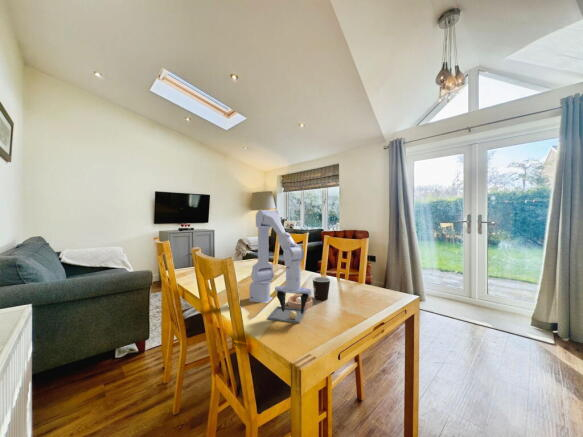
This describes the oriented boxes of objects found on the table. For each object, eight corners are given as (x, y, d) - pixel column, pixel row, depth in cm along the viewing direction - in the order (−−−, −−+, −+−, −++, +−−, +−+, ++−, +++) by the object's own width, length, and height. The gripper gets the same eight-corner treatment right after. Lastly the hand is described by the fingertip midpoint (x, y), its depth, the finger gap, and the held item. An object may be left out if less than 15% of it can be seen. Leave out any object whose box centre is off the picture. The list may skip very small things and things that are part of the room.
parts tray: (267, 320, 92) (267, 317, 92) (277, 308, 103) (277, 306, 103) (299, 325, 88) (299, 322, 88) (305, 312, 100) (306, 309, 100)
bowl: (285, 308, 103) (285, 302, 103) (291, 300, 114) (291, 293, 114) (309, 311, 100) (309, 304, 100) (314, 302, 111) (314, 296, 111)
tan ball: (287, 320, 91) (287, 312, 91) (289, 316, 94) (290, 308, 94) (295, 321, 90) (295, 313, 90) (297, 317, 93) (297, 309, 93)
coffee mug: (329, 303, 110) (329, 282, 110) (311, 301, 112) (311, 281, 112) (330, 295, 121) (330, 276, 121) (313, 293, 123) (314, 275, 123)
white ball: (295, 304, 107) (295, 297, 107) (296, 302, 110) (296, 295, 110) (302, 305, 106) (301, 298, 106) (303, 302, 109) (303, 296, 109)
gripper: (272, 278, 90) (272, 313, 90) (309, 281, 86) (309, 318, 86) (278, 273, 97) (277, 306, 97) (312, 276, 93) (312, 310, 93)
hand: (292, 311), depth 92 cm, fingers open, 7 cm apart
